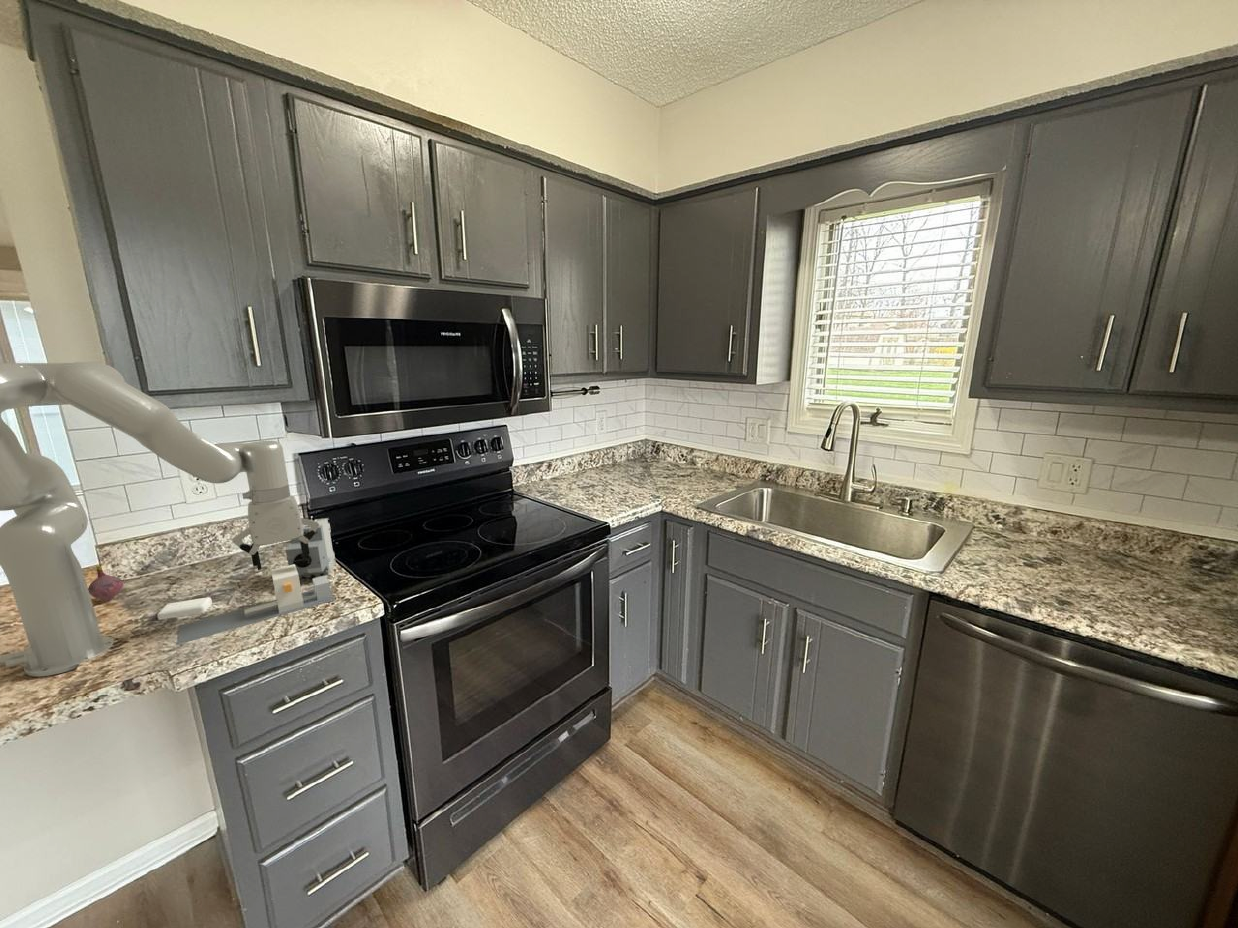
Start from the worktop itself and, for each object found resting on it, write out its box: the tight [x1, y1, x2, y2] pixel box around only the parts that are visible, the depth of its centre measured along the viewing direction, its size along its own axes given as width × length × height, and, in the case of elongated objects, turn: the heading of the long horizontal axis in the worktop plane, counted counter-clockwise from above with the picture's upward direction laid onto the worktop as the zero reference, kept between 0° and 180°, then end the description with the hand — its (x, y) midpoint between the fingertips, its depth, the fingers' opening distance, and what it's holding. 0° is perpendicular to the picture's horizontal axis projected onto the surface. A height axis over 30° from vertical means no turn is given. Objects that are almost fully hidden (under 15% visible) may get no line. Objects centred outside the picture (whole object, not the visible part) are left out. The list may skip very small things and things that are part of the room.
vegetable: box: [87, 564, 124, 602], centre depth 125 cm, size 6×6×10 cm
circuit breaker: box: [285, 517, 336, 579], centre depth 136 cm, size 8×14×15 cm, turn 16°
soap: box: [157, 596, 213, 621], centre depth 119 cm, size 9×6×3 cm, turn 112°
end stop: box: [312, 575, 332, 600], centre depth 125 cm, size 3×5×4 cm, turn 39°
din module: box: [270, 564, 304, 613], centre depth 120 cm, size 5×9×8 cm, turn 38°
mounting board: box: [176, 588, 336, 646], centre depth 118 cm, size 30×10×1 cm, turn 129°
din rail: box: [244, 591, 317, 618], centre depth 120 cm, size 15×2×1 cm, turn 129°
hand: (282, 562), depth 119 cm, fingers open, 8 cm apart
